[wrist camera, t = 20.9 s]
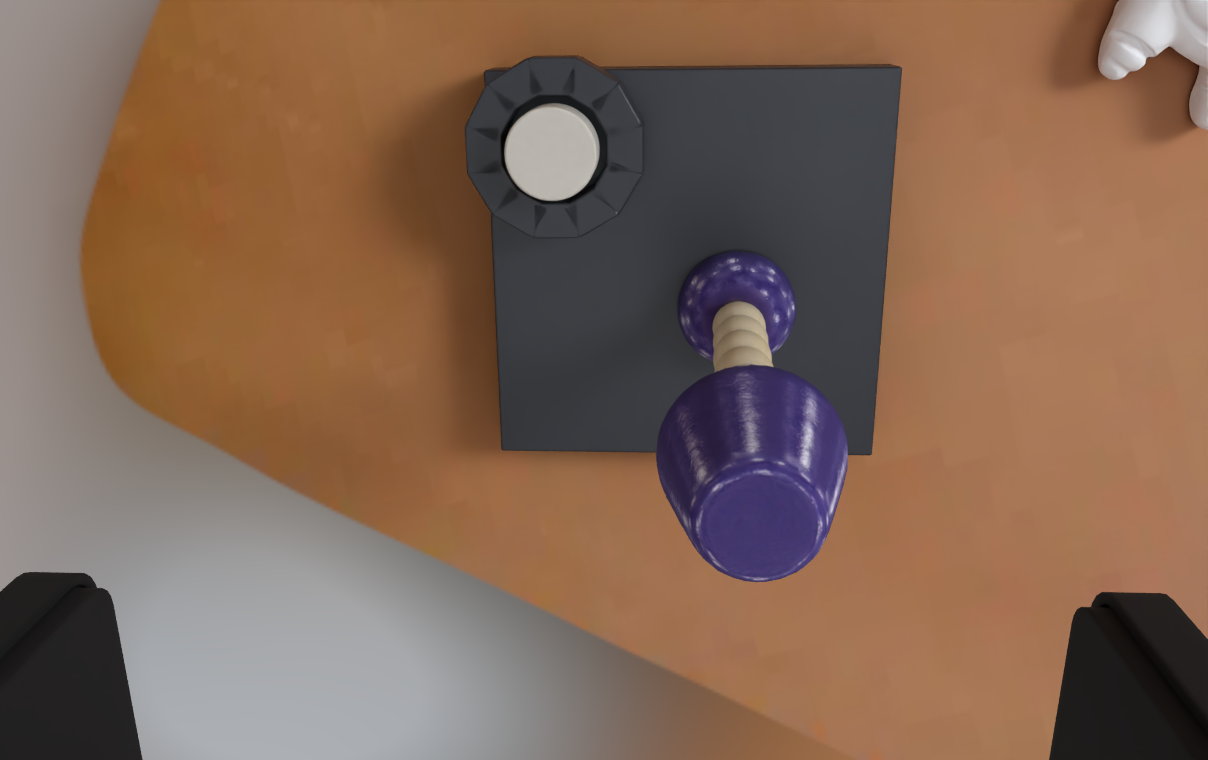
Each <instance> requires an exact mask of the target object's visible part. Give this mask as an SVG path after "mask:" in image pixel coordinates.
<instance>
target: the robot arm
mask: <svg viewBox="0 0 1208 760" xmlns="http://www.w3.org/2000/svg"><path fill="white" fill-rule="evenodd" d="M0 760H142V755H141V750H140V745H139V739H138V734H137V728H136V724H135V718H134V713H133V707H132V702H131V696H130V691H129V685H128V680H127V675H126V670H125V664H124V659H123V653H122V648H121V643H120V637H119V632H118V627H117V621H116V616H115V610H114V605H113V601H112V598H111V596H110V594H109V593H108V591H107V590H105V589H103V588H97V587H96V584H95V582H94V581H93V579H92V578H91V577H90V576H88V575H87V574H85V573H49V572H46V573H45V572H28V573H23V574H21V575H20V576H18V577H16V578H15V579H14V580H13V581H12V582H11V583H10V584H8V585H7V586H6V587H5V588H4V589H3V590H2V591H1V592H0ZM1049 760H1208V639H1207V638H1206V637H1205V636H1204V635H1203V634H1202V632H1201V631H1200V630H1199V629H1198V628H1197V627H1196V625H1195V624H1194V623H1193V622H1192V621H1191V620H1190V619H1189V617H1188V616H1187V615H1186V614H1185V613H1184V612H1183V611H1182V609H1181V608H1180V607H1179V606H1178V605H1177V604H1176V603H1175V601H1174V600H1173V599H1171V598H1170V597H1169V596H1168V595H1166V594H1161V593H1118V592H1102V593H1100V594H1098V595H1097V596H1096V597H1095V599H1094V601H1093V603H1092V606H1091V607H1080V608H1079V609H1077V611H1076V612H1075V614H1074V617H1073V621H1072V625H1071V631H1070V637H1069V643H1068V649H1067V655H1066V662H1065V668H1064V674H1063V680H1062V686H1061V692H1060V698H1059V704H1058V710H1057V716H1056V722H1055V728H1054V734H1053V740H1052V746H1051V752H1050V758H1049Z"/></svg>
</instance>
